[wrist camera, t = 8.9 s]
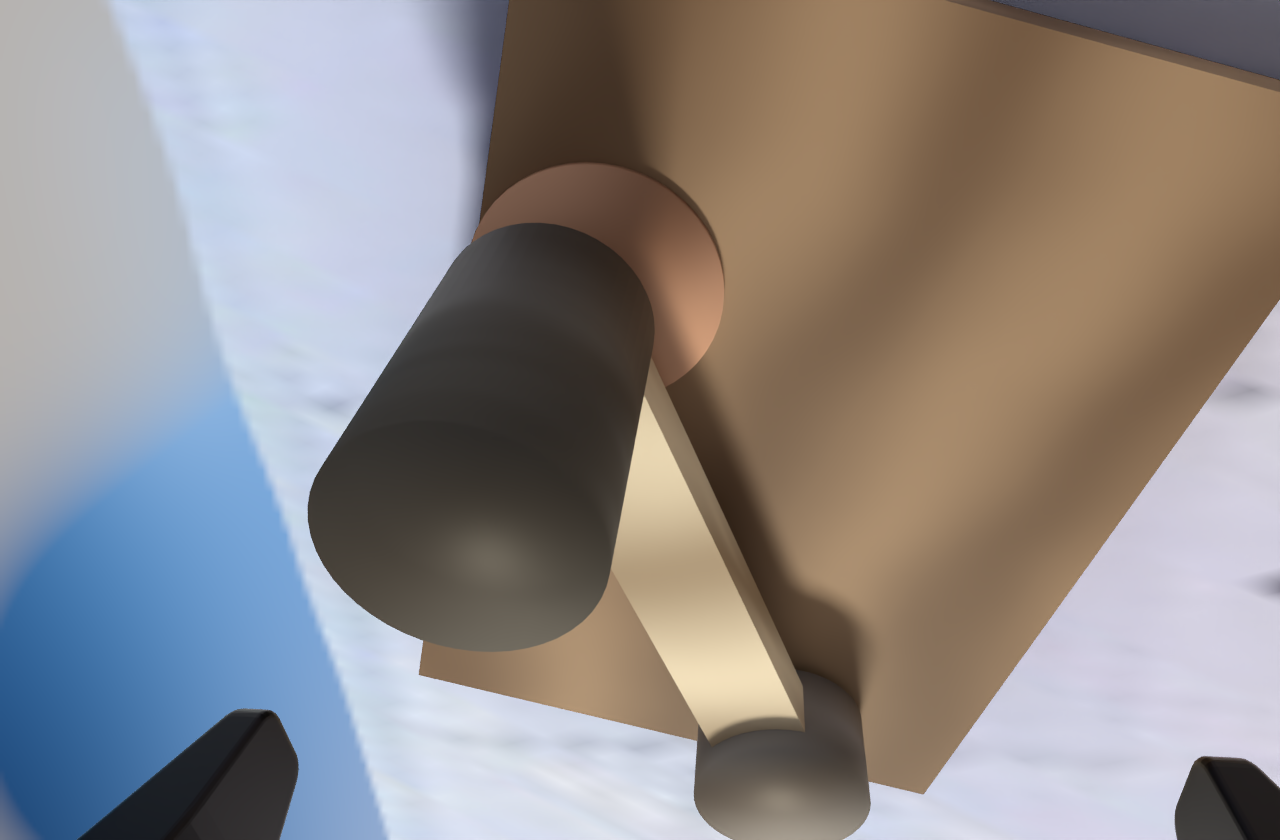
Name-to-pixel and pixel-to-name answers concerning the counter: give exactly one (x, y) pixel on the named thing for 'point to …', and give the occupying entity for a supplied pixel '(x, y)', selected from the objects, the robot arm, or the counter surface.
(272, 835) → the robot arm
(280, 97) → the counter surface
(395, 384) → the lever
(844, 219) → the board
